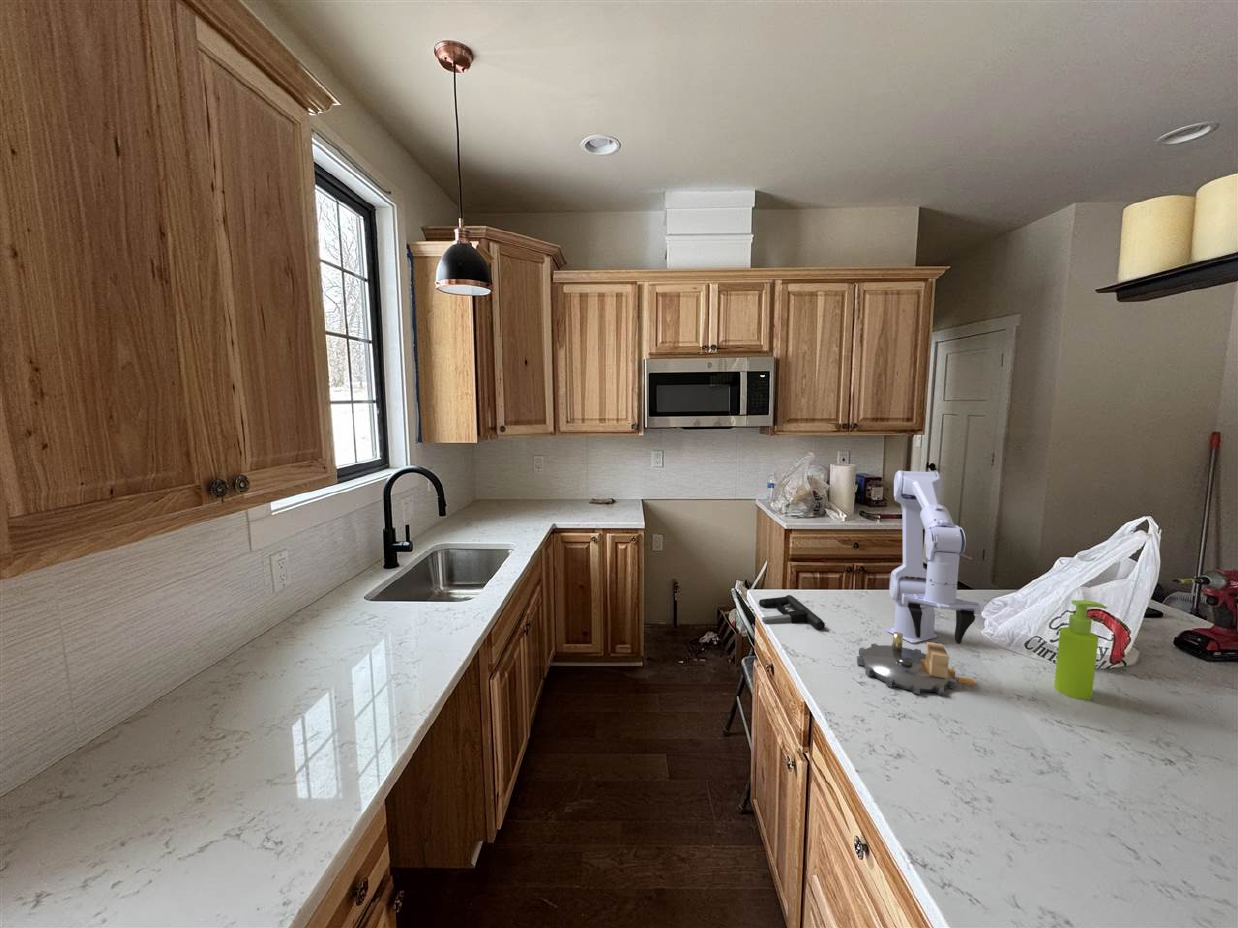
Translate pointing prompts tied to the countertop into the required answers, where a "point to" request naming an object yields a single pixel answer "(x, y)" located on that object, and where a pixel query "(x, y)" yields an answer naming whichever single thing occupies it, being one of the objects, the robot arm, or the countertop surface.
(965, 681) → the timing pointer
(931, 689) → the sprocket
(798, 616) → the submachine gun
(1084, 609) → the soap dispenser
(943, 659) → the tan wooden block
